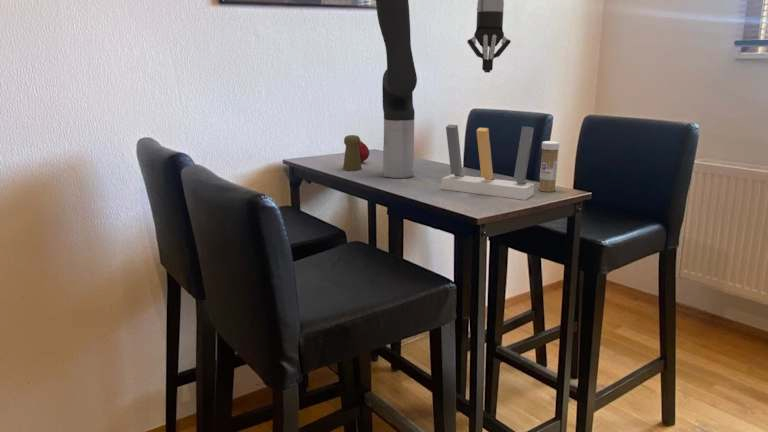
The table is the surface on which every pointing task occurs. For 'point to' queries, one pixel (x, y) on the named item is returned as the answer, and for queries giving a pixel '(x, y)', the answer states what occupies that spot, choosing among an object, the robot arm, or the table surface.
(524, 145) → the lever right
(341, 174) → the table surface
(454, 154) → the lever left
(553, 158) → the sprinkles bottle
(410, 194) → the table surface
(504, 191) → the lever base
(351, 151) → the cork
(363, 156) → the red oval lump
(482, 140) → the lever middle
